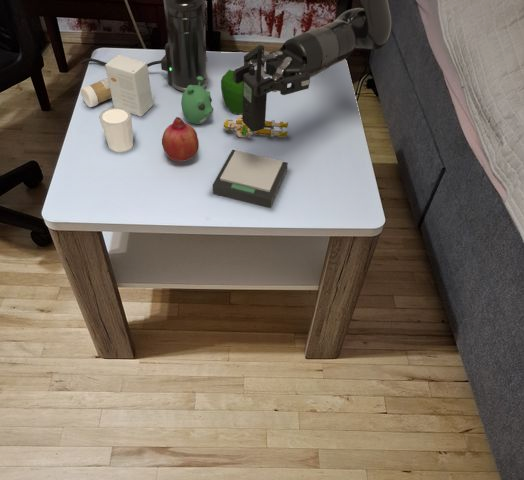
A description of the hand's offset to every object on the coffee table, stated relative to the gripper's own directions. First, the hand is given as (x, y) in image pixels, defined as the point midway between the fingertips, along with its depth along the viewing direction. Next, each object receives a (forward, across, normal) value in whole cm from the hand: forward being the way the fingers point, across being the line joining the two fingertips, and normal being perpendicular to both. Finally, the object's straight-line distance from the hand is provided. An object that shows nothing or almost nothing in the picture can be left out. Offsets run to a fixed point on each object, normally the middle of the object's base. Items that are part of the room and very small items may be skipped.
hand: (245, 84), depth 91 cm
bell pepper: (-19, -23, +23) cm, 38 cm away
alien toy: (-8, -25, +23) cm, 35 cm away
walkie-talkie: (-3, 0, +9) cm, 10 cm away
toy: (-15, -12, +23) cm, 30 cm away
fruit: (+4, -16, +23) cm, 28 cm away
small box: (+1, -39, +23) cm, 45 cm away
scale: (-2, 0, +23) cm, 23 cm away
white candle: (+12, -29, +23) cm, 39 cm away
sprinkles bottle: (-4, -46, +20) cm, 51 cm away
